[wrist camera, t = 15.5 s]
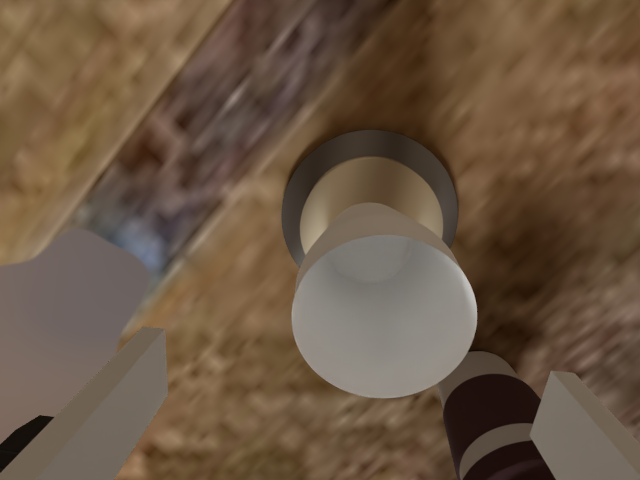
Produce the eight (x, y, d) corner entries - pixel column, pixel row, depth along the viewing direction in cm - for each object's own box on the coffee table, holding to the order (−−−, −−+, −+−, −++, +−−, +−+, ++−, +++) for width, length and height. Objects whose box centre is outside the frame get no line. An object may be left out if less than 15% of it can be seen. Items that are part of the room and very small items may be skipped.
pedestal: (271, 278, 35) (262, 297, 31) (298, 113, 30) (291, 112, 26) (428, 310, 34) (438, 333, 31) (478, 149, 30) (498, 152, 26)
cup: (288, 245, 29) (249, 322, 18) (368, 160, 27) (383, 188, 15) (368, 316, 31) (381, 430, 19) (452, 242, 28) (523, 322, 17)
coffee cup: (407, 360, 36) (445, 514, 22) (504, 320, 34) (617, 461, 20) (447, 432, 39) (506, 614, 24) (541, 399, 37) (665, 575, 22)
